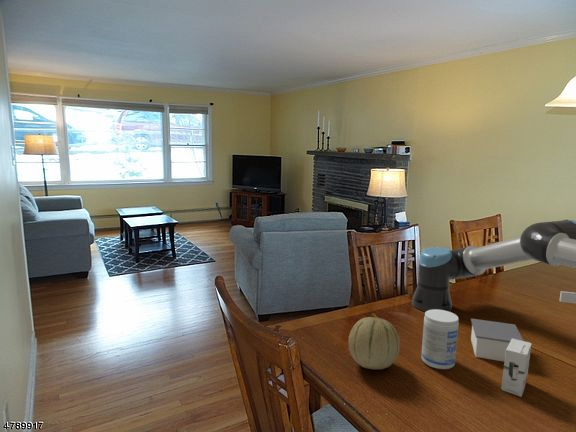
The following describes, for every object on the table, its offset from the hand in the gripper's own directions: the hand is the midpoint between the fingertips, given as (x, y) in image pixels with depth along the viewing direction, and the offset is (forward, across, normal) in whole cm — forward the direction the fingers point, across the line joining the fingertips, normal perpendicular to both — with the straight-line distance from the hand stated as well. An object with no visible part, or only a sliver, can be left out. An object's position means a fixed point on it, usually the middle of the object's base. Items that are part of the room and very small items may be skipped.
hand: (569, 305), depth 98 cm
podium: (+12, +19, -24) cm, 33 cm away
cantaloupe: (+47, -3, -24) cm, 53 cm away
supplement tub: (+29, +6, -24) cm, 38 cm away
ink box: (+10, 0, -24) cm, 26 cm away
